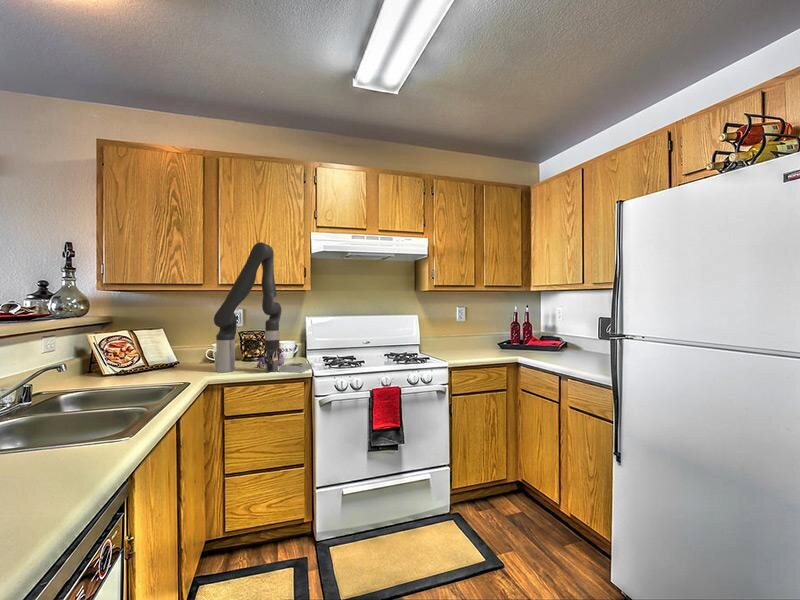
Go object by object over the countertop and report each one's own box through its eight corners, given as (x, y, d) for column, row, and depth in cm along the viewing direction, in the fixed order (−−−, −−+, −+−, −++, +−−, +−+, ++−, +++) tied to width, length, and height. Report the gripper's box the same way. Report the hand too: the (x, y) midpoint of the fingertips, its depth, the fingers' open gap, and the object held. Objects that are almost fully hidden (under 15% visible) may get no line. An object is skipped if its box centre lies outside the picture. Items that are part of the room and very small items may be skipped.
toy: (283, 376, 226) (293, 352, 232) (266, 367, 215) (276, 342, 221) (271, 374, 231) (280, 351, 238) (253, 366, 220) (263, 341, 227)
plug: (266, 372, 207) (266, 359, 207) (270, 370, 211) (270, 357, 212) (273, 372, 206) (273, 359, 206) (277, 371, 211) (277, 358, 211)
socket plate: (279, 372, 208) (279, 366, 208) (290, 367, 220) (290, 362, 220) (301, 372, 205) (301, 366, 205) (311, 368, 218) (311, 363, 218)
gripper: (272, 337, 217) (272, 367, 217) (258, 340, 203) (258, 372, 203) (284, 337, 215) (284, 368, 215) (271, 340, 201) (271, 372, 201)
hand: (272, 370), depth 209 cm, fingers open, 5 cm apart
